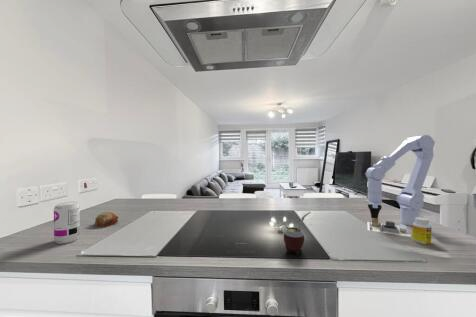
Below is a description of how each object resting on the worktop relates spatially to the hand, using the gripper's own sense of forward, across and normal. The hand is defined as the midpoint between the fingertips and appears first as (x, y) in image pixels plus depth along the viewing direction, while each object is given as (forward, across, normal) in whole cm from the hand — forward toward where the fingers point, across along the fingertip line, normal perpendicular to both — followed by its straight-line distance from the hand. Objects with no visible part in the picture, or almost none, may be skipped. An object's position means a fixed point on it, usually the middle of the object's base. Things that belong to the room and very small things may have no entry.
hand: (374, 219), depth 103 cm
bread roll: (+3, +66, -116) cm, 133 cm away
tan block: (+2, +4, 0) cm, 5 cm away
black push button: (0, +8, +6) cm, 10 cm away
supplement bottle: (+3, +17, +15) cm, 23 cm away
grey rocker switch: (0, +8, +10) cm, 13 cm away
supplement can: (+3, +85, -108) cm, 138 cm away
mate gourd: (+3, +48, -25) cm, 54 cm away
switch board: (+3, +6, +5) cm, 9 cm away
